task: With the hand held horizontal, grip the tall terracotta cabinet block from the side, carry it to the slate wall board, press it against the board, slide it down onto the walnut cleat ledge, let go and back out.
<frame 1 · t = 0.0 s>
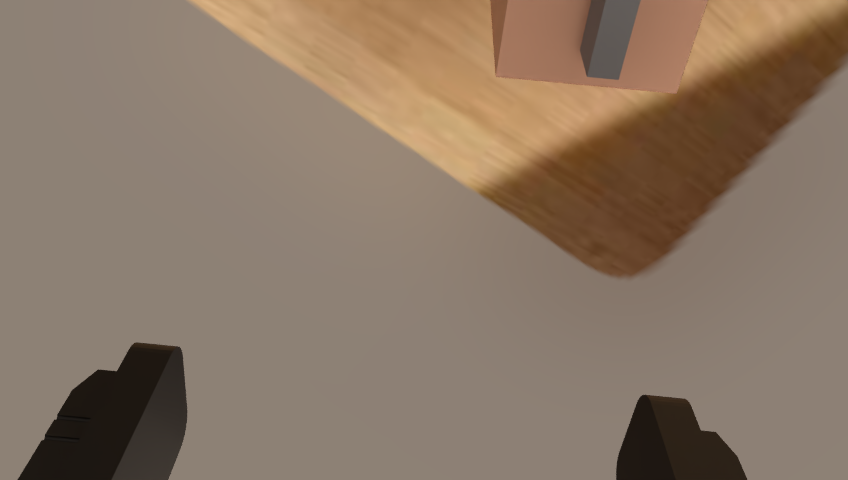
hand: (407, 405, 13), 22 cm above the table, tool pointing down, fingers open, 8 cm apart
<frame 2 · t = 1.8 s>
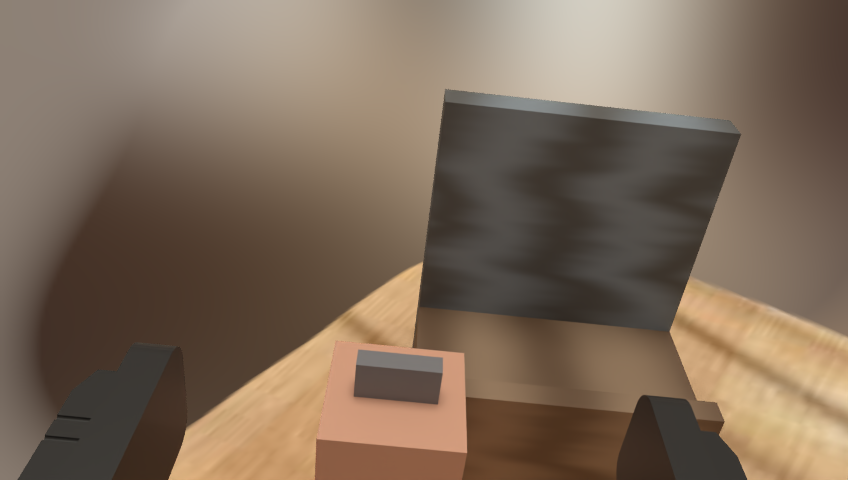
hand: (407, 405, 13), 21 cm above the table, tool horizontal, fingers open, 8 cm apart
cleat board: (531, 442, 41), on the table
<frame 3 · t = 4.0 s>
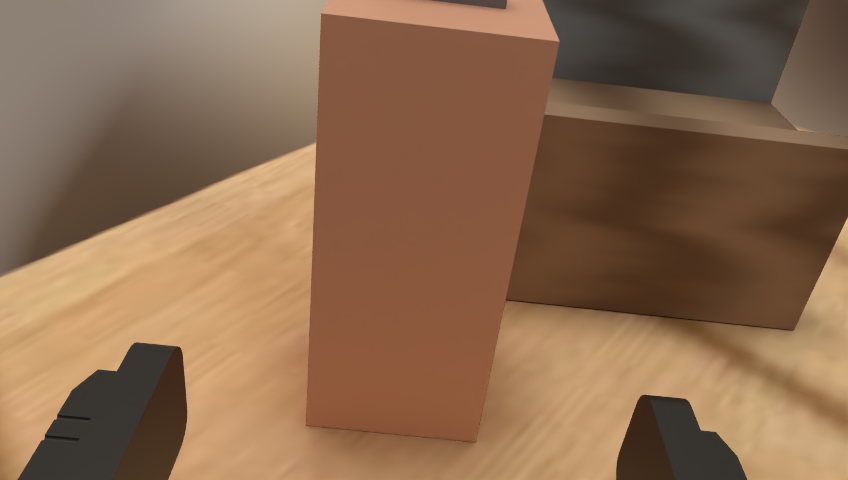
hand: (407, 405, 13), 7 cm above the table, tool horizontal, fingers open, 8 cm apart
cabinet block: (396, 375, 24), on the table
cleat board: (593, 244, 32), on the table
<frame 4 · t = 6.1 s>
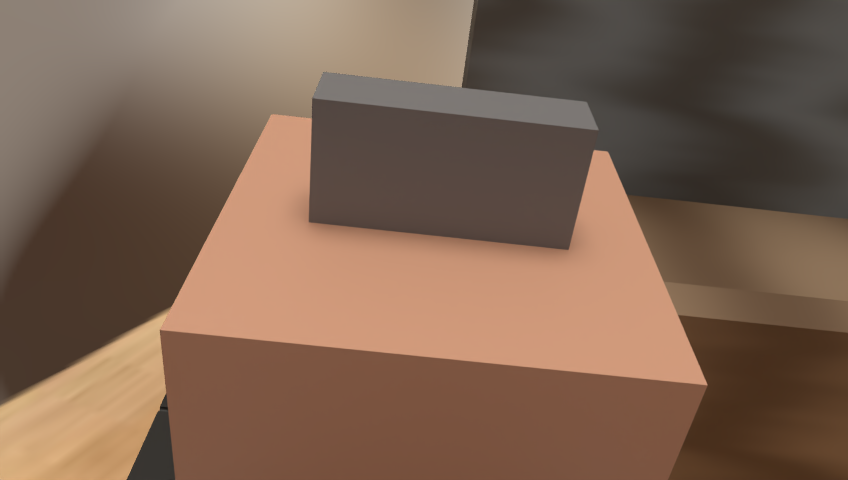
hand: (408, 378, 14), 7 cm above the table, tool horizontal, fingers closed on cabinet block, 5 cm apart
cleat board: (648, 418, 23), on the table
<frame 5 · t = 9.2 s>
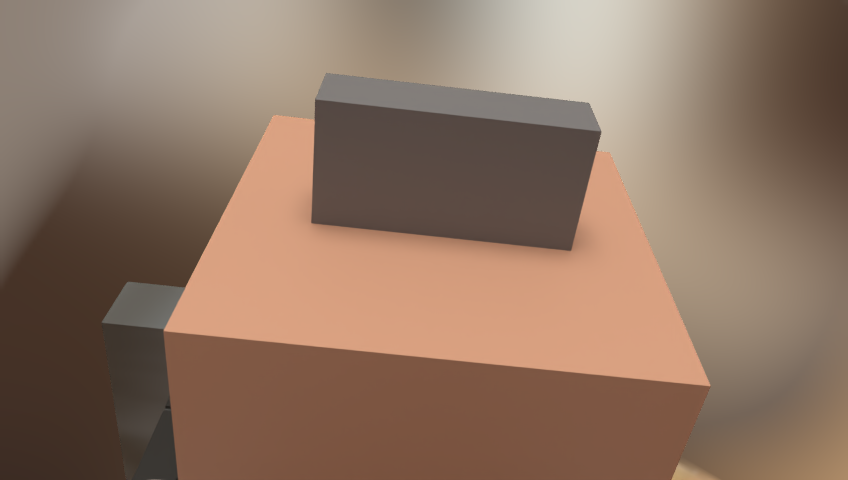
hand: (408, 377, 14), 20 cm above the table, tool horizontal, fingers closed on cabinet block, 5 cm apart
when the fingers open (14 cm above the table, at t = 11.9 s): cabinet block drops 1 cm, resting on cleat board.
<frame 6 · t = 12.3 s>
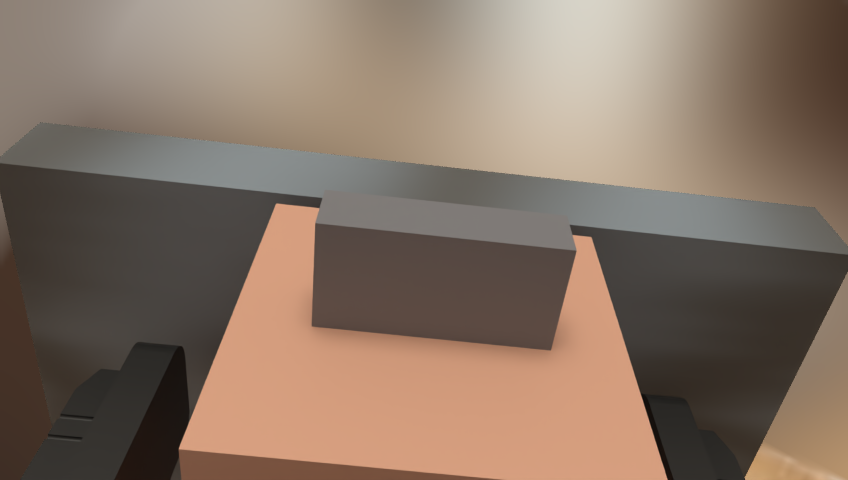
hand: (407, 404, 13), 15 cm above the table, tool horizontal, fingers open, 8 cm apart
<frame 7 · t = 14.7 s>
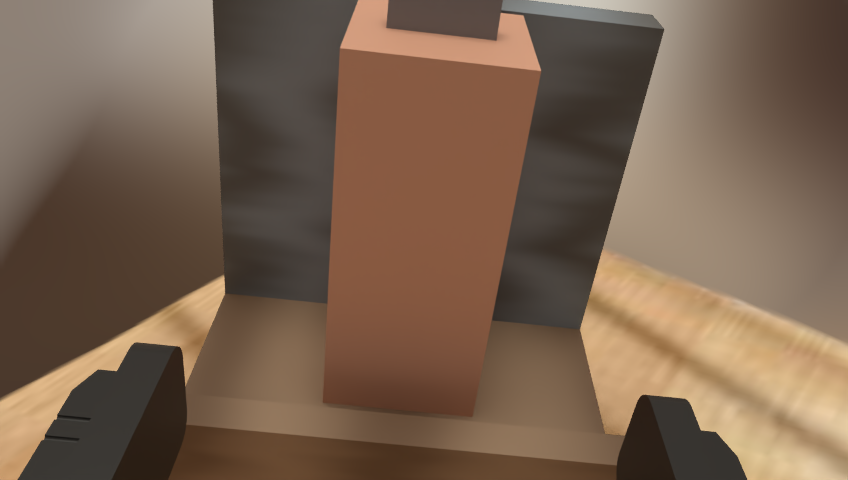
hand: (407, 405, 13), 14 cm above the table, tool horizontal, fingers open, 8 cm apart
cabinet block: (401, 359, 27), point 6 cm above the table, touching cleat board
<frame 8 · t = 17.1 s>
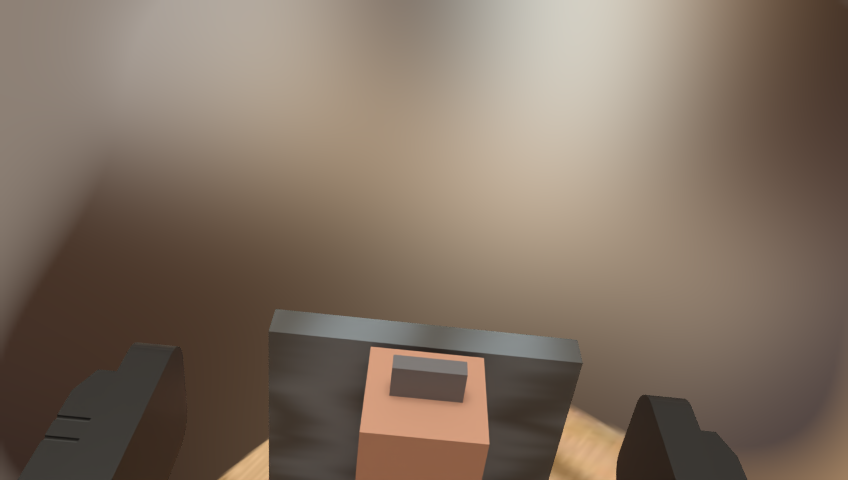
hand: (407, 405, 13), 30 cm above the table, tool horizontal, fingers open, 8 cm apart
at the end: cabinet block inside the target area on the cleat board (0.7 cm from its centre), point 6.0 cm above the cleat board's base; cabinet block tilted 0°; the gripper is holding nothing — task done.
